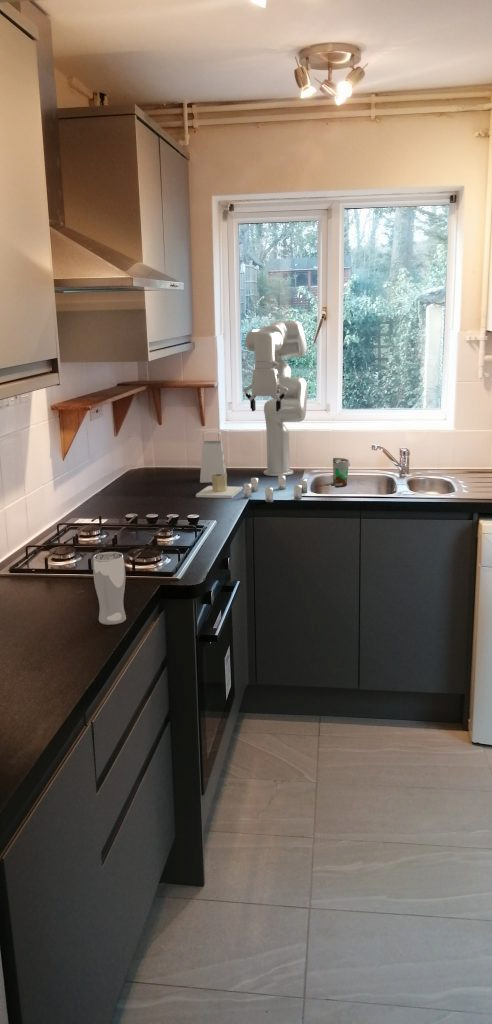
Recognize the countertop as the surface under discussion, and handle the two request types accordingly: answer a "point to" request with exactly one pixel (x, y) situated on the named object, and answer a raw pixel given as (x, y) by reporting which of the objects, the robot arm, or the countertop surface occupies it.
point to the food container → (340, 472)
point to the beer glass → (110, 586)
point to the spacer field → (281, 485)
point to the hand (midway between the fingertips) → (265, 410)
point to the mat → (211, 494)
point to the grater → (212, 459)
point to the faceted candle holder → (219, 482)
